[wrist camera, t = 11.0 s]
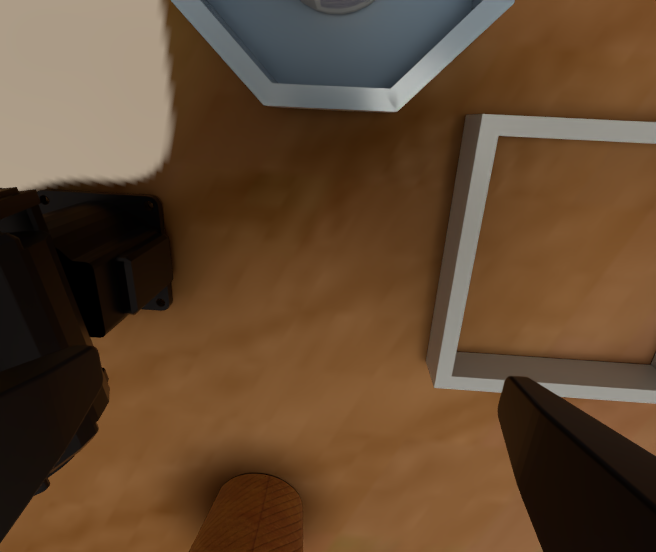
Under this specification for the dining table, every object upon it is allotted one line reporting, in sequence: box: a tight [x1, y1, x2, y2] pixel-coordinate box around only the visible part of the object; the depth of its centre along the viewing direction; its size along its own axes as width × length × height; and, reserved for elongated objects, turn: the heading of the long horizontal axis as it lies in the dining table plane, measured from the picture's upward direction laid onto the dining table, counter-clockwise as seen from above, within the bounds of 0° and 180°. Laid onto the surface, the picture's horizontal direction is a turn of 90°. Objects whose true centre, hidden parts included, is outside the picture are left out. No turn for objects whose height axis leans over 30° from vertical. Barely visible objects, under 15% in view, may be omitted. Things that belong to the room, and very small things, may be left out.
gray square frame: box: [426, 114, 656, 404], centre depth 19 cm, size 14×14×2 cm
